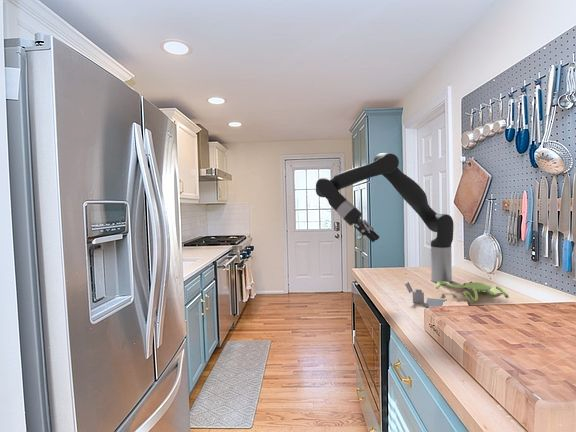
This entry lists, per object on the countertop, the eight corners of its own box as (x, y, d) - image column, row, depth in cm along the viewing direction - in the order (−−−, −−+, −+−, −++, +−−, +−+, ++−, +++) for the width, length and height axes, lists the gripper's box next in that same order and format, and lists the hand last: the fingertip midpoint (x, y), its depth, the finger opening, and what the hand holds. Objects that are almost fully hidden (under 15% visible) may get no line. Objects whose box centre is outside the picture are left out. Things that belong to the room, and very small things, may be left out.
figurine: (429, 294, 145) (429, 281, 145) (473, 286, 155) (473, 274, 155) (466, 306, 128) (465, 291, 128) (513, 296, 138) (513, 283, 138)
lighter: (424, 302, 133) (423, 282, 133) (423, 303, 132) (423, 283, 132) (405, 300, 137) (404, 281, 136) (404, 301, 135) (404, 282, 135)
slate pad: (427, 299, 137) (427, 297, 137) (468, 302, 131) (468, 301, 131) (425, 307, 127) (425, 305, 127) (470, 311, 121) (470, 310, 121)
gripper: (350, 207, 140) (379, 235, 136) (358, 206, 153) (385, 232, 148) (338, 219, 143) (366, 248, 138) (347, 217, 156) (373, 243, 151)
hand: (376, 239), depth 143 cm, fingers open, 6 cm apart
